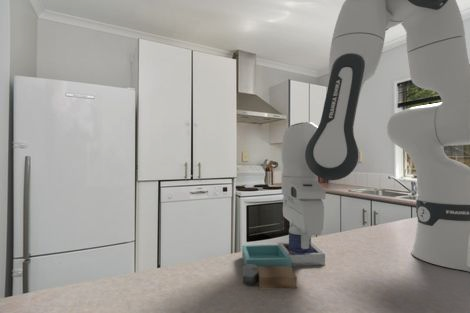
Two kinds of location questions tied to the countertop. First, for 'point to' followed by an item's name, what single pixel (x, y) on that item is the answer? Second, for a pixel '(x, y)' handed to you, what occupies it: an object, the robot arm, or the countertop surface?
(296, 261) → the collar
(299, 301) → the countertop surface
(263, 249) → the tray
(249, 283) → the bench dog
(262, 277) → the tan cardboard-like brick
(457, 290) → the countertop surface
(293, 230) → the pill bottle
